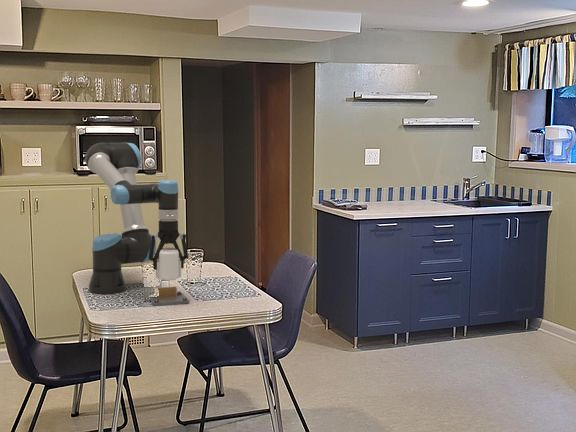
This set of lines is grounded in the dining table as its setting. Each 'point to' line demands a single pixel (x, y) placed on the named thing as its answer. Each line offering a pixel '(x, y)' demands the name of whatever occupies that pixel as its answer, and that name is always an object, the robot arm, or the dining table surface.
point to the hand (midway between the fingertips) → (168, 277)
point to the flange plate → (169, 297)
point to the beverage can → (168, 264)
